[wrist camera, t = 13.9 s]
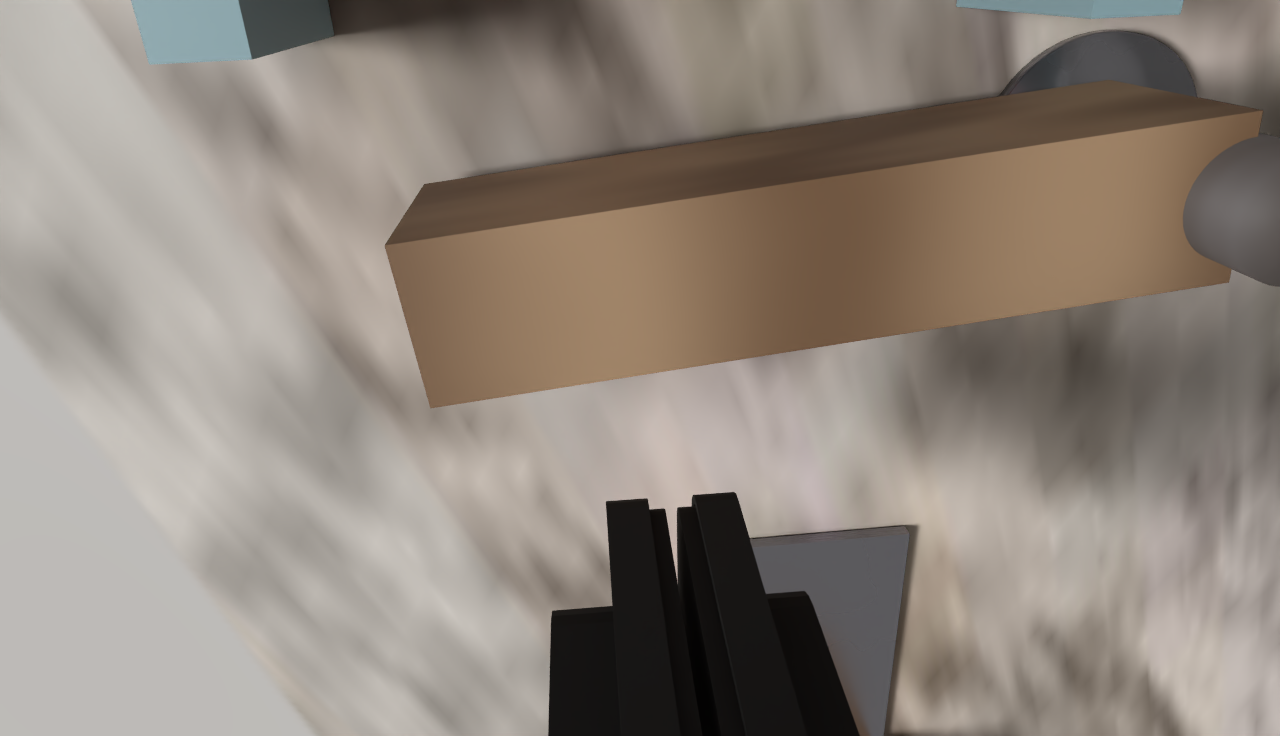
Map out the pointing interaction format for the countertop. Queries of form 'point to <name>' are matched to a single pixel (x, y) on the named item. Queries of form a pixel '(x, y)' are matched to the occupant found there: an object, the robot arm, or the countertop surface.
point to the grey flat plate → (847, 604)
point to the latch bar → (830, 235)
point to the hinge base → (1105, 64)
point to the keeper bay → (299, 14)
